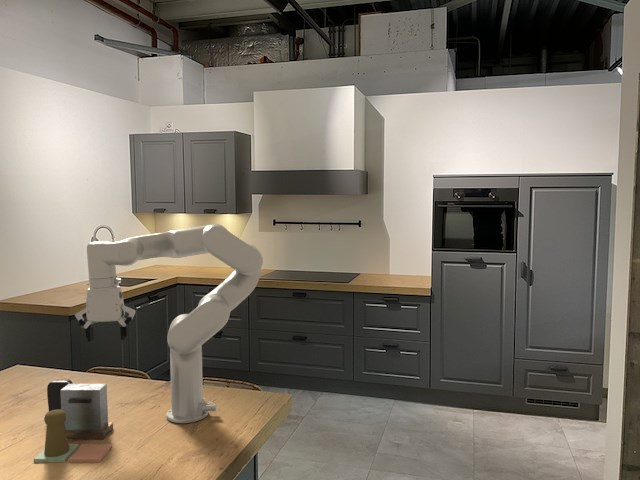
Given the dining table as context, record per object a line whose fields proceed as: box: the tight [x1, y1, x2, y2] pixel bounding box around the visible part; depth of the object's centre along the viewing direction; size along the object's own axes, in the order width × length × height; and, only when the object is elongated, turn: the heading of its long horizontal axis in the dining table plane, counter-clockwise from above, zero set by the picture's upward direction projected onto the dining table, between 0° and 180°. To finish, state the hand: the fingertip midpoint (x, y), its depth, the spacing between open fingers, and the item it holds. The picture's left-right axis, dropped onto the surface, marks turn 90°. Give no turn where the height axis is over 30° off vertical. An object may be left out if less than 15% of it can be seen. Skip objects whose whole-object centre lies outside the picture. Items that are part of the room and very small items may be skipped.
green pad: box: [33, 444, 80, 463], centre depth 143 cm, size 8×8×1 cm
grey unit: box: [60, 383, 114, 441], centre depth 154 cm, size 13×7×14 cm, turn 90°
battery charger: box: [46, 378, 74, 412], centre depth 167 cm, size 7×4×11 cm, turn 92°
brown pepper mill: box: [43, 409, 70, 457], centre depth 142 cm, size 6×6×11 cm
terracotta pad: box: [68, 443, 113, 463], centre depth 143 cm, size 8×8×1 cm
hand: (107, 339), depth 161 cm, fingers open, 9 cm apart
